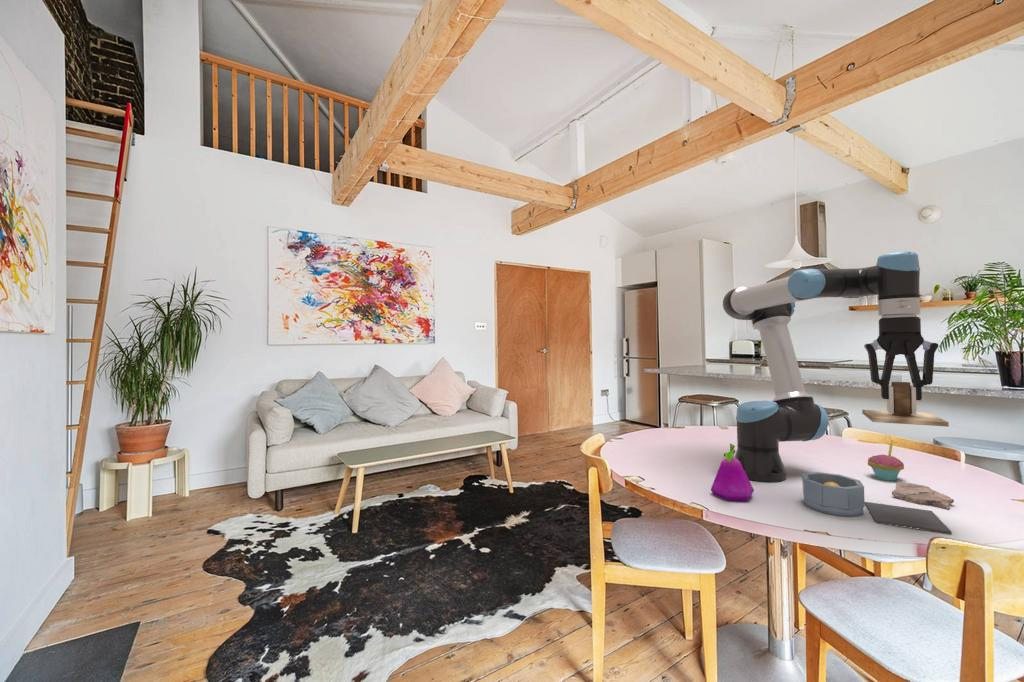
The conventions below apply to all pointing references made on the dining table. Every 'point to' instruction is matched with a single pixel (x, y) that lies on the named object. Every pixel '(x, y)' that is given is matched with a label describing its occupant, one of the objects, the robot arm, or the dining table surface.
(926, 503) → the stone
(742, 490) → the purple eggplant
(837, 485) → the clementine
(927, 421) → the board
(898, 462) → the cupcake
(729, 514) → the dining table surface
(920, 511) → the mat
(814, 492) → the bowl
